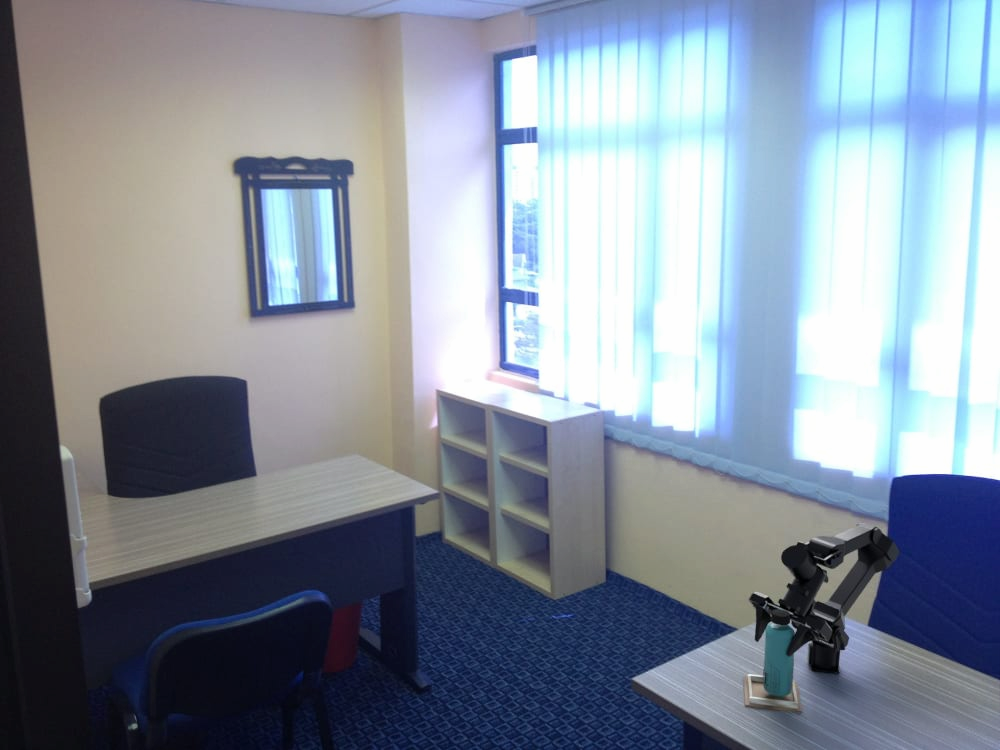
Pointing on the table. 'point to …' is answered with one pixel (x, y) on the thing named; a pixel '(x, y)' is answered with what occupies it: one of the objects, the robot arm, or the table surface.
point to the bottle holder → (769, 696)
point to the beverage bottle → (778, 655)
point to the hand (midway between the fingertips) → (771, 648)
